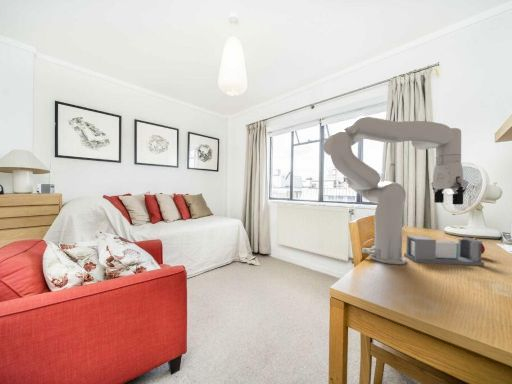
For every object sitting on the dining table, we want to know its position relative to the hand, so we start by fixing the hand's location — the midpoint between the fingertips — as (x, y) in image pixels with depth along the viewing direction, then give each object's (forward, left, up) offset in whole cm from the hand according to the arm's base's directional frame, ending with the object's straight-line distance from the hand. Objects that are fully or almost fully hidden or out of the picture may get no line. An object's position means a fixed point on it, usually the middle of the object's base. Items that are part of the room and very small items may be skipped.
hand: (447, 203), depth 85 cm
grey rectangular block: (-4, +1, -22) cm, 22 cm away
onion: (+17, +8, -23) cm, 30 cm away
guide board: (-1, 0, -23) cm, 23 cm away
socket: (+9, 0, -22) cm, 24 cm away
